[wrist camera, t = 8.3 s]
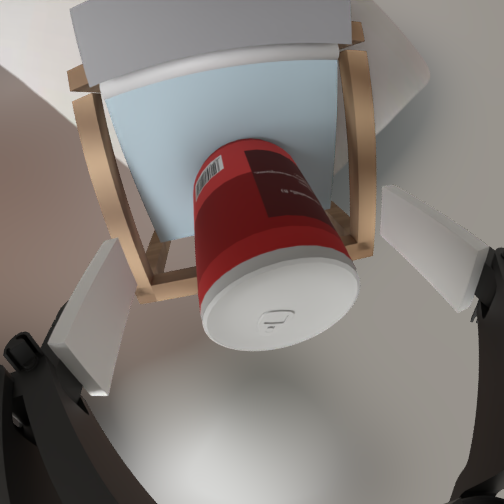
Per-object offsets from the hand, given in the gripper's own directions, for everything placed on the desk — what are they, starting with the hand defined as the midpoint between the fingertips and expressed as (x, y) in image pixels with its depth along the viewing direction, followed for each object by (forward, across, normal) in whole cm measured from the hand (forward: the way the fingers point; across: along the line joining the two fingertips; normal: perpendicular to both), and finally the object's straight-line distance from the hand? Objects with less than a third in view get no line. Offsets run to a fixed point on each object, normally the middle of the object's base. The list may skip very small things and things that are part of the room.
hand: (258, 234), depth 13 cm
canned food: (+9, 0, 0) cm, 9 cm away
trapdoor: (+10, 0, +6) cm, 12 cm away
